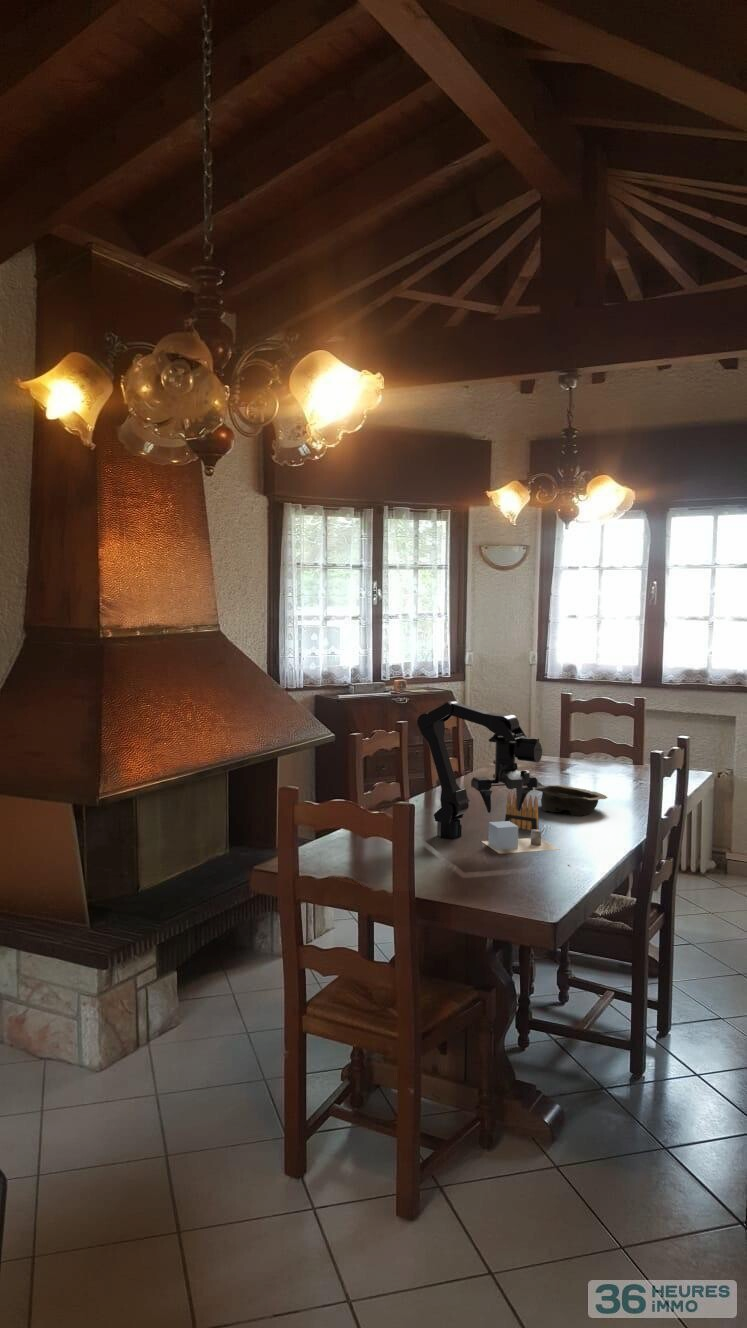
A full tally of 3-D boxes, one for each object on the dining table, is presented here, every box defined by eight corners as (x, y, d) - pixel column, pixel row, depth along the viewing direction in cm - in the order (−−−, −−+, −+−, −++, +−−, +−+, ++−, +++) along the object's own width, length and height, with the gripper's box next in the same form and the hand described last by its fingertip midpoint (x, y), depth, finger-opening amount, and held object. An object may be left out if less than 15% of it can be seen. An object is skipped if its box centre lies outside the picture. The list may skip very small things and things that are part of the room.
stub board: (499, 857, 254) (499, 839, 254) (481, 845, 267) (481, 827, 266) (560, 853, 260) (560, 835, 259) (539, 841, 272) (540, 824, 272)
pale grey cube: (497, 850, 258) (497, 827, 257) (488, 844, 264) (488, 822, 263) (517, 848, 260) (518, 826, 259) (508, 842, 266) (509, 821, 265)
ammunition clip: (538, 833, 281) (539, 795, 280) (536, 834, 280) (537, 796, 279) (506, 828, 287) (507, 791, 286) (504, 829, 285) (505, 792, 284)
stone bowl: (524, 813, 306) (525, 785, 306) (545, 804, 329) (546, 778, 329) (596, 821, 295) (598, 793, 295) (614, 811, 317) (615, 785, 317)
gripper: (486, 764, 249) (485, 820, 251) (547, 762, 255) (545, 816, 256) (471, 757, 260) (469, 811, 261) (529, 755, 265) (528, 807, 267)
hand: (503, 811), depth 261 cm, fingers open, 9 cm apart
